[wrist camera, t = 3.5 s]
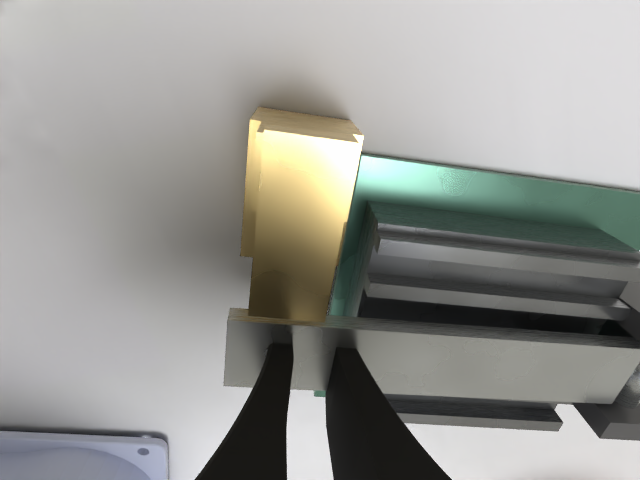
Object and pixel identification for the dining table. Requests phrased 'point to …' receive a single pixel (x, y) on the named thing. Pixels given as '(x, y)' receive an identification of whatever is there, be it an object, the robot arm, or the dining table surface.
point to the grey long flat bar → (443, 358)
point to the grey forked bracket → (614, 417)
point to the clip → (296, 209)
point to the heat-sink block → (484, 264)
